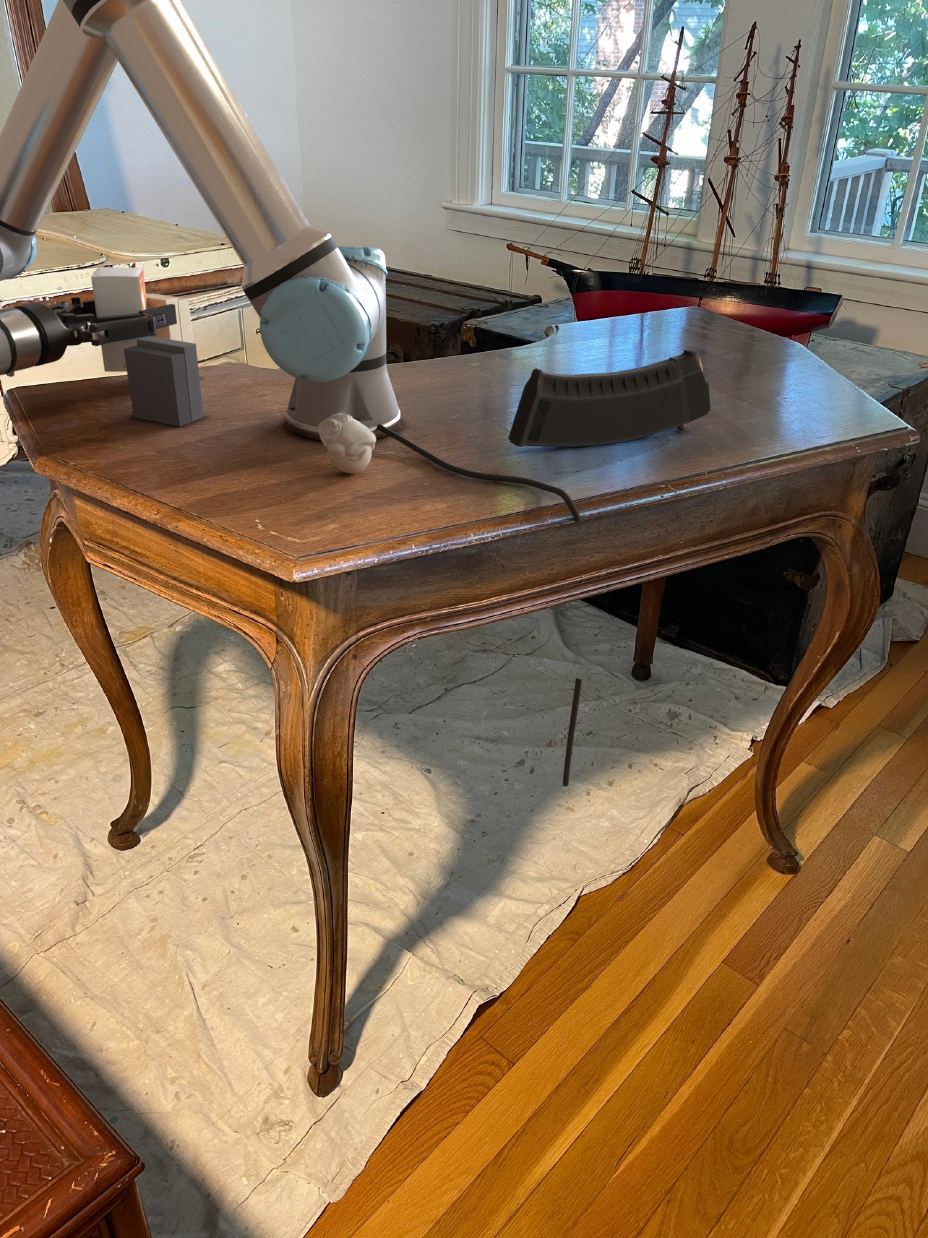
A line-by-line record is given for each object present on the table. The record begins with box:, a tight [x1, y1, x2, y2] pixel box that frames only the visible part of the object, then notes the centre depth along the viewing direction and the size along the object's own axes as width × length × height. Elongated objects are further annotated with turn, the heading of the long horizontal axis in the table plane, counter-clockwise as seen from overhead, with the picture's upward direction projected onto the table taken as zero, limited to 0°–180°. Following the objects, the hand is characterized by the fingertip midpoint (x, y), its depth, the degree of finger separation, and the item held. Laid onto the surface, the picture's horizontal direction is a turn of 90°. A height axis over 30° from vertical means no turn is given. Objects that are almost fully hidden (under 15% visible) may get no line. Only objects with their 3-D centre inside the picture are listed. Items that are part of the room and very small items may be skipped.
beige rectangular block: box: [146, 292, 194, 343], centre depth 139 cm, size 7×5×12 cm
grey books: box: [124, 336, 205, 427], centre depth 123 cm, size 8×5×10 cm, turn 65°
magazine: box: [507, 348, 712, 448], centre depth 121 cm, size 17×3×30 cm
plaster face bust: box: [318, 413, 377, 474], centre depth 108 cm, size 6×7×7 cm
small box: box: [90, 266, 148, 373], centre depth 131 cm, size 8×6×13 cm
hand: (146, 309), depth 134 cm, fingers closed on small box, 10 cm apart
